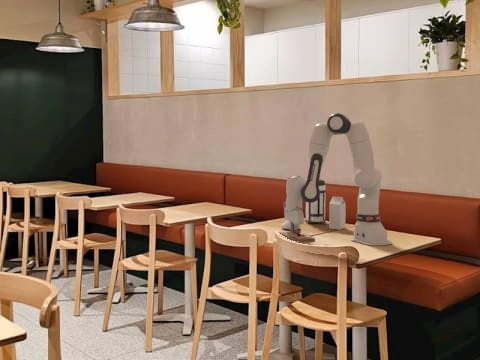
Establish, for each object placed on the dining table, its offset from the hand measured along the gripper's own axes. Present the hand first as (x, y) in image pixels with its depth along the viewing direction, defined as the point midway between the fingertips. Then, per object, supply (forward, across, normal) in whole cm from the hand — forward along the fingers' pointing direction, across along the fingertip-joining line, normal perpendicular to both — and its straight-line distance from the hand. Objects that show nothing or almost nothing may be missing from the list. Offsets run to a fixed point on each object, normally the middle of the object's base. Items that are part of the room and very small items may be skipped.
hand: (294, 230), depth 329 cm
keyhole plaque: (+2, -7, 0) cm, 7 cm away
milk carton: (+4, +15, -34) cm, 37 cm away
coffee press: (+4, +36, -30) cm, 47 cm away
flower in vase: (+4, +23, -8) cm, 25 cm away
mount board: (+4, -4, 0) cm, 5 cm away
